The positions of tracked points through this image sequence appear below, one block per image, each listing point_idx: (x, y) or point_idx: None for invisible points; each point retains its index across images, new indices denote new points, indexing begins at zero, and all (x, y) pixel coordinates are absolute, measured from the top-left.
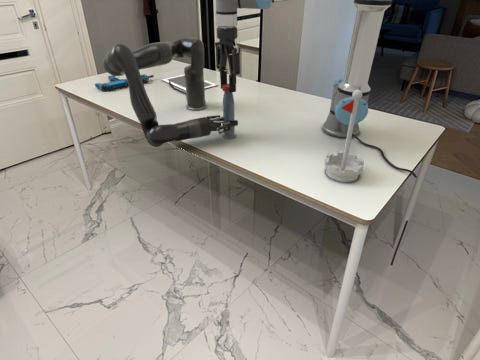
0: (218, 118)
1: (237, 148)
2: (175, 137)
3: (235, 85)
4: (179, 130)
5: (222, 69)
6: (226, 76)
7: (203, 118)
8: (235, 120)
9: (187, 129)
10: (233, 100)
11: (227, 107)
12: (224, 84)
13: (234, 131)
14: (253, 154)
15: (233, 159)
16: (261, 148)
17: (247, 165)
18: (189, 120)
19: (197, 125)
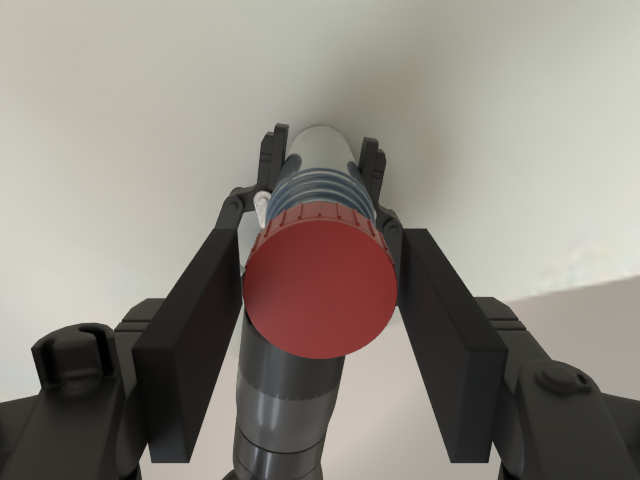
0: None
1: (462, 205)
2: (322, 476)
3: (446, 266)
4: (313, 477)
5: (126, 456)
6: (201, 308)
7: (298, 367)
8: (368, 157)
9: (320, 442)
10: (369, 202)
11: None
12: (258, 310)
13: (345, 141)
14: (566, 178)
15: (529, 278)
16: (553, 102)
17: (613, 261)
18: (273, 433)
19: (327, 403)
